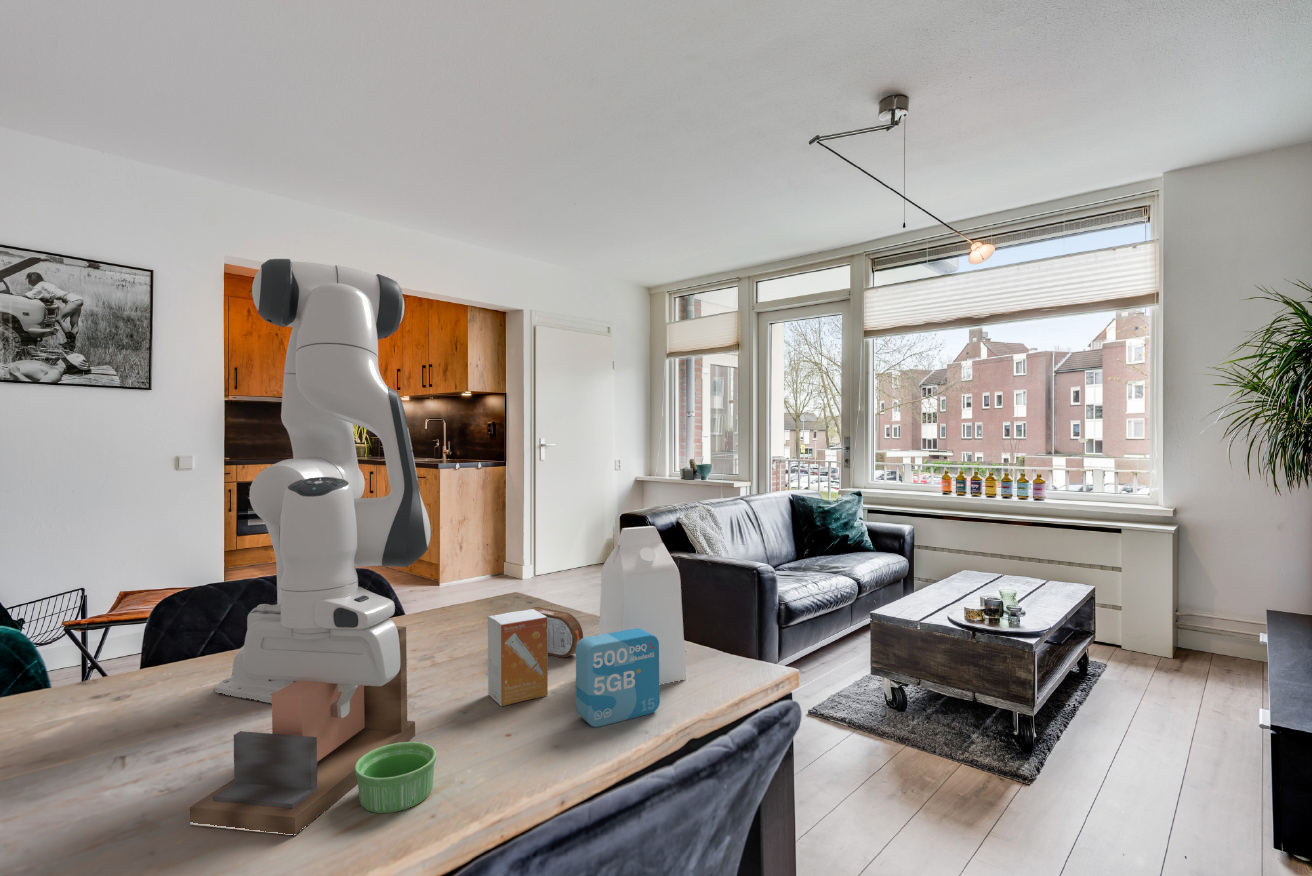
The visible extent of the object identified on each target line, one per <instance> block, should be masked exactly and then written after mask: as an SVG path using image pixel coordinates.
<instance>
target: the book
mask: <svg viewBox="0 0 1312 876" xmlns="http://www.w3.org/2000/svg"><path fill="white" fill-rule="evenodd" d="M341 694H342V692H338V684H331V683H326V682H311V681H296V682H294V683H292V684H290V685H288V686H286V687H285V688H283V689H281V690H279V691H277V692H275V693H273V694H272V703H271V729H272V731H271V734H284V735H297V736H310V737H317V762H318V761H319V760H321V759H322V758H323V757H325V756H326V755H327V754H329V753H330V752H332V751H333V750H334V749H336V748H337V747H338V746H340V745H341V744H343V743H344V742H345V741H347V740H348V739H349V738H351V737H352V736H354V735H355V734H356V733H358V732H359V731H360V730H362V729H363V728H365V720H364V685H358V687H357V689H356V691H355V693H354V694H353V696H352V698H351V700H350V712H349V714H348V715H347V716H345V717H344V718H334V717H331V712H332V711H331V704H333V703H334V702H336V701H338V700H339V698H340V696H341Z"/></svg>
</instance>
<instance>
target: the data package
mask: <svg viewBox="0 0 1312 876" xmlns="http://www.w3.org/2000/svg"><path fill="white" fill-rule="evenodd" d="M660 686H661V685H659V641H658V639H657V638H656V637H655V636H654V635H652V634H650V633H648V632H646V631H644V630H642V629H640V628H636V629H630V630H624V631H619V632H613V633H607V634H601V635H599V634H597V635H590V636H586V637H583V638H582V639H581V640H580V641H579V642H578V644H577V646H576V653H575V691H576V693H575V694H576V695H575V698H576V699H575V700H576V703H575V705H576V712H577V714H578V715H579V716H580V717H581V718H582V719H583V720H584V721H585V722H586V723H588V725H589V726H591V727H593V728H599V727H603V726H607V725H612V724H615V723H620V722H623V721H627V720H632V719H636V718H641V717H644V716H648V715H652V714H654V713H655V712H656V711H657V710H658V709H659V706H660V704H661V703H660V702H661V701H660V699H661V698H660V697H661V695H660V690H661V689H660Z"/></svg>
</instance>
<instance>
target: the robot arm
mask: <svg viewBox="0 0 1312 876" xmlns="http://www.w3.org/2000/svg"><path fill="white" fill-rule="evenodd" d="M251 290H252V291H251V294H252V295H251V296H252V299H253V303H254V306H255V308H256V311H257V314H258V315H259V317H261V318H262V319H263V320H264V321H265V322H267V323H270V324H273V325H275V326H278V327H282V328H286V327H289V328H292V329H291V333H290V336H289V340H288V345H287V351H286V354H285V355H286V356H285V359H284V360H285V361H284V372H283V373H284V374H283V384H282V396H281V397H282V398H281V411H280V412H281V413H280V418H281V423H282V425H283V426H284V428H285V429H286V431H287V434H288V437H289V440H290V444H291V449H292V458H288V459H284V460H283V459H282V460H281V461H278V462H276V463H274V464H272V465H270V466H268V467H266V468H264V469H262V470H261V471H260V472H258V474H257V475H256V476H255V477H254V478H253V481H252V482H251V485H250V489H249V502H250V505H251V508H252V510H253V511H254V513H255V514H256V515H257V516H258V517H259V518H260V519H261V520H262V521H263V523H264V525H265V526H266V529H267V532H268V535H269V538H270V542H271V545H272V547H273V548H272V549H273V550H274V551H273V552H274V557H275V565H276V591H277V593H276V594H277V597H276V599H277V600H276V601H277V603H276V604H269V603H262V604H258V605H257V606H256V607H254V608H252V610H251V611H250V612H249V613H248V615H247V617H246V619H247V620H246V621H247V622H246V623H247V625H246V626H247V630H246V634H245V637H244V644H243V645H242V646H241V647H240V648H239V649H238V651H237V652H236V654H235V656H234V658H233V663H232V668H231V669H232V670H231V675H229V676H227V677H226V678H224V679H222V680H221V681H219V683H217V685H216V686H215V691H214V692H215V693H216V692H217V693H216V694H219V693H223V694H222V695H224V694H225V696H230V695H231V696H230V697H236V698H241V697H242V699H246V698H250V699H249V700H251V699H254V700H253V701H257V700H260V701H259V702H263V703H267V704H272V694H273V693H275V692H277V691H279V690H281V689H283V688H285V687H286V686H288V685H290V684H292V683H294V682H296V681H311V682H326V683H331V684H338V692H342V694H341V696H340V698H339V700H338V701H336V702H334V703H333V704H331V711H332V712H331V717H334V718H344V717H345V716H347V715H348V714H349V712H350V700H351V698H352V696H353V694H354V693H355V691H356V689H357V687H358V685H364V686H383V685H384V684H386V683H388V682H389V681H391V680H392V679H394V678H395V676H396V675H397V674H398V672H399V670H400V644H399V636H398V631H397V628H396V626H397V625H396V624H395V622H394V621H392V620H391V619H390V618H391V617H392V616H394V614H395V612H396V611H395V609H396V606H395V605H396V604H395V602H394V601H393V600H392V599H390V598H388V597H386V596H382V595H379V594H377V593H374V592H372V591H370V590H367V589H366V588H363V587H362V586H359V578H358V577H359V576H358V573H357V570H356V568H361V567H377V566H381V567H388V568H389V567H391V568H393V567H394V568H408V567H410V566H411V565H413V564H414V563H415V562H417V561H418V560H419V559H420V558H422V556H423V555H424V554H426V552H428V551H429V545H430V542H431V533H432V531H431V522H430V519H429V514H428V512H427V509H426V506H425V503H424V501H423V498H422V495H421V489H420V484H419V478H418V472H417V469H416V462H415V456H414V452H413V446H412V440H411V436H410V435H411V434H410V431H409V426H408V421H407V418H406V412H405V409H404V404H403V402H402V399H401V397H400V395H399V393H398V392H397V390H395V389H392V388H390V387H388V386H387V383H385V381H384V379H383V378H382V375H381V373H380V367H379V340H382V339H386V338H388V337H390V336H392V335H393V334H394V333H395V332H397V331H398V329H399V327H400V324H401V322H402V321H403V318H404V315H405V300H404V296H403V291H402V288H401V286H400V284H399V282H397V281H396V280H394V279H392V278H390V277H388V276H385V275H383V274H379V273H377V274H373V273H371V272H366V271H362V270H359V269H356V268H351V267H348V266H342V265H339V264H335V265H331V264H327V263H326V264H324V263H315V262H309V261H308V262H306V261H291V259H290V258H271V259H268V260H266V261H265V262H263V263H262V264H261V265H260V268H259V270H258V271H256V274H255V276H254V278H253V282H252V286H251ZM354 425H356V426H359V427H361V428H364V429H366V430H367V431H369V432H370V433H373V434H375V436H377V438H378V439H379V440H380V442H381V444H382V449H383V453H384V461H385V466H386V470H387V476H388V477H387V478H388V483H389V487H390V488H389V489H390V490H389V491H390V492H389V494H387V495H386V496H381V497H363V498H362V496H363V495H364V492H365V488H366V487H365V485H366V481H365V477H364V474H363V472H362V470H361V469H360V467H359V461H358V455H357V448H356V443H355V441H356V440H355V434H354Z"/></svg>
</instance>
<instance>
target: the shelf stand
mask: <svg viewBox="0 0 1312 876" xmlns="http://www.w3.org/2000/svg"><path fill="white" fill-rule="evenodd" d="M395 626H396V628H397V631H398V636H399V644H400V670H399V672H398V674H397V675H396V676H395V678H394V679H392V680H391V681H389V682H388V683H386V684H384V685H383V686H364V720H365V728H363V729H362V730H360V731H359V732H358V733H356V734H355V735H354V736H352V737H351V738H349V739H348V740H347V741H345V742H344V743H343V744H341V745H340V746H338V747H337V748H336V749H334V750H333V751H332V752H330V753H329V754H327V755H326V756H325V757H323V758H322V759H321V760H319V761H318V762H317V737H310V736H297V735H284V734H272V732H271V733H268V732H256V731H242V730H240V731H238V732H236V733H235V734H233V779H231V780H229V781H228V782H227V783H225V784H223V785H222V786H219V787H218V788H216V789H215V790H214V791H212V792H211V793H209V794H207V795H206V796H205V797H202V798H201V799H200V800H198V801H197V802H195V803H193V804H192V805H190V806H189V823H190V822H193V823H198V824H210V825H214V826H215V825H217V826H226V827H235V828H245V829H249V830H260V831H264V832H265V831H266V832H278V833H283V834H284V833H285V834H293V835H294V834H297V833H298V832H299V831H300V830H302V828H304V827H305V826H307V825H308V824H309V823H310V822H312V821H313V820H314V819H315V818H317V817H318V816H319V815H320V816H322V814H323V812H324V811H325V812H327V811H328V809H330V808H331V807H333V805H334V804H336V803H337V802H338V801H339V800H340V799H342V798H343V797H344V796H345V795H346V794H348V793H349V792H350V791H351V790H352V789H354V787H356V786H358V780H357V776H356V774H355V765H356V763H357V761H358V760H359V759H360V758H361V757H362V756H364V755H365V754H367V753H368V752H370V751H372V750H375V749H377V748H380V747H383V746H386V745H390V744H395V743H401V742H410V740H412V739H413V738H414V737H416V721H414V720H408V677H407V676H408V671H407V667H408V665H407V662H408V659H407V626H397V625H395ZM342 796H343V797H342ZM336 801H337V802H336ZM329 807H330V808H329ZM325 812H324V813H325ZM320 816H319V817H320ZM319 817H318V818H319ZM318 818H317V819H318ZM315 820H316V819H315ZM315 820H314V821H315ZM314 821H313V822H314ZM313 822H312V823H313ZM309 825H310V824H309ZM309 825H308V826H309ZM308 826H307V827H308ZM302 831H303V830H302Z"/></svg>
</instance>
